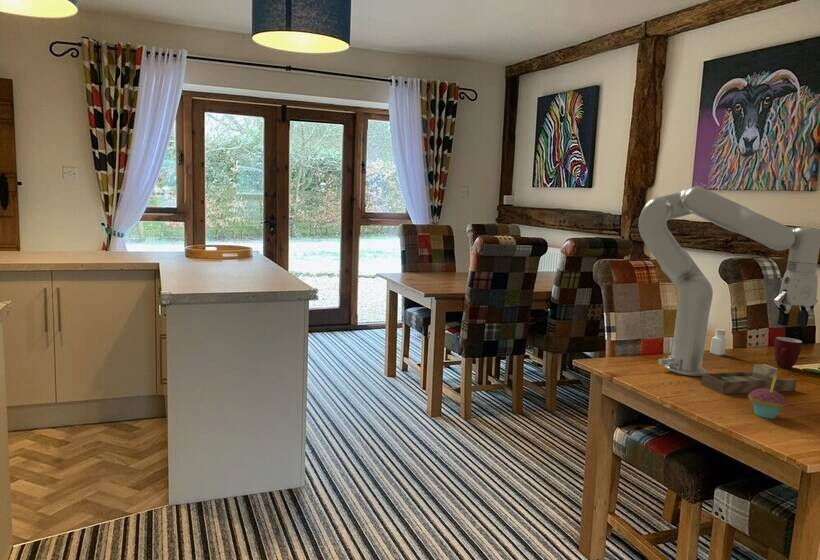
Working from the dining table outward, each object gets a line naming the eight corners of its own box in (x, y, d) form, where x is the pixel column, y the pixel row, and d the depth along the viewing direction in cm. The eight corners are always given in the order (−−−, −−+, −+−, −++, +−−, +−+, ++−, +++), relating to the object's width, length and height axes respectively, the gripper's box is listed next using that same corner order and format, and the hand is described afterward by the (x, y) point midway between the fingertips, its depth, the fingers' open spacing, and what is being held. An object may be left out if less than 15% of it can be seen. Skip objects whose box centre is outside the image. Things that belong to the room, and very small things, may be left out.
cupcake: (790, 421, 155) (797, 377, 153) (759, 420, 154) (766, 376, 152) (768, 409, 163) (775, 367, 162) (739, 408, 163) (745, 366, 161)
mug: (796, 373, 202) (800, 345, 201) (768, 368, 207) (773, 340, 206) (798, 367, 211) (803, 340, 209) (772, 362, 215) (776, 335, 214)
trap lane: (722, 393, 175) (724, 382, 174) (700, 384, 183) (702, 373, 183) (794, 390, 183) (796, 379, 182) (771, 381, 191) (772, 371, 190)
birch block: (764, 381, 181) (766, 369, 181) (752, 377, 186) (754, 364, 185) (775, 381, 183) (777, 368, 182) (763, 376, 187) (765, 364, 186)
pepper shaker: (719, 356, 220) (722, 331, 218) (709, 353, 223) (712, 328, 222) (725, 355, 222) (729, 330, 221) (715, 352, 225) (718, 327, 224)
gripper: (790, 269, 175) (780, 328, 178) (834, 270, 180) (824, 328, 183) (768, 265, 182) (759, 322, 185) (811, 267, 187) (802, 322, 190)
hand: (792, 324), depth 184 cm, fingers open, 6 cm apart
